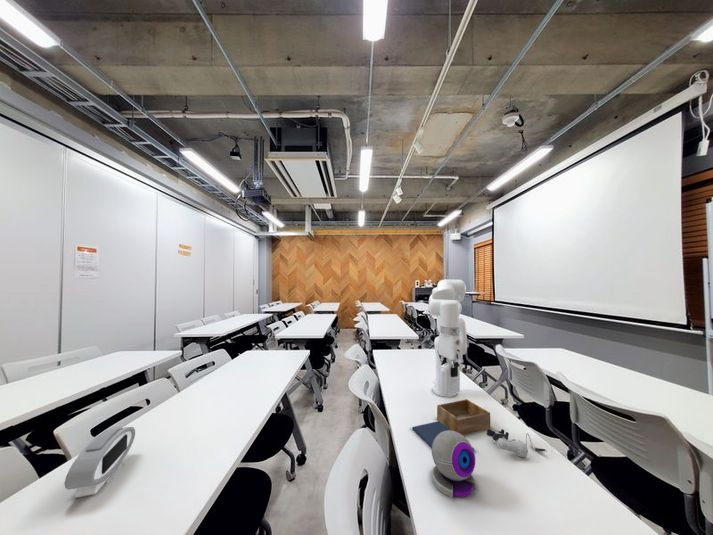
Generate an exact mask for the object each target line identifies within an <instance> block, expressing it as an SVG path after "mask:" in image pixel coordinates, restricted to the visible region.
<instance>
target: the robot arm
mask: <svg viewBox="0 0 713 535" xmlns="http://www.w3.org/2000/svg"><path fill="white" fill-rule="evenodd" d="M466 292H467V285H466V283H465V281H464V280H463V279H453V278H452V279H449V278H448V279H447V278H446V279H441V280H439V281H438V282H437V284H436V287H434V288H432V290H431V294H430V295H429V298H428V312H429V314H430V315H431V316H434V317H436V330H437V332H438V333H439V335H438V336H436V337H435V338H434V341H433V345H434V351H435V378H434V380H433V381H432V384H433V385H434V386H433V387H432V392H433V393H434V394H435V395H437V396H440V397H444V398H452V397H455V396H456V395H457V393H454V394H451V395H448V396H443V395H441V394H440V393H439V368H440V367H441V366H442V365H443V364H445V363H448V362H451V364H452V367H451V377H457V376H458V367H460V365H462V364H463V363H464V359H463V355H466V354H467V352H468V351H467V350H468V339H467V324H466V321H465V319H463V318H461V317H460V315H461V314H462V310H463V308H462V306H463V305H462V304H461V302H463V301H464V299H465V297H466V296H465V295H466Z"/></svg>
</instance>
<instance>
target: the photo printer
mask: <svg viewBox="0 0 713 535" xmlns="http://www.w3.org/2000/svg"><path fill="white" fill-rule="evenodd" d="M451 367H452V364H451V362H448V363H445V364H443V365H442V366H441V367H440V368H439V393H440V394H441V395H443V396H442V397H444V396H448V395H451V394H454V393H456V394H457V393H460V391H461V378H460V377H461V367H460V366H459V367H458V376H457V377H451Z"/></svg>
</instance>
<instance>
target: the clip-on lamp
mask: <svg viewBox="0 0 713 535" xmlns="http://www.w3.org/2000/svg"><path fill="white" fill-rule="evenodd" d="M509 435H510V433H509V432H507V431H506V432H505V429H502V428H501V429H500V430H496V429H491V428H489V429H486V436H488V437H491V440H492V444H493V445H496V444H497V447H498V448H499V449H500V450H504V451H507V452H511V453H514V454H515V455H516V456H518V457H519V458H526V457H527V456H528V453H529V448H528V447H527V446H528V439H529V442H530V445H531V447H532V448H533V449H534V450H535V451H537V452H541V453H543V452H548V450H547V449H545V448H539V447H534V445H533V443H532V442H533V441H532V439H531V436H530V434H529V433H528V432H527V433H526V434H525V442H524V441H522V440H519V439H511V440H510V439H509ZM494 441H495V442H494Z"/></svg>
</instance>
